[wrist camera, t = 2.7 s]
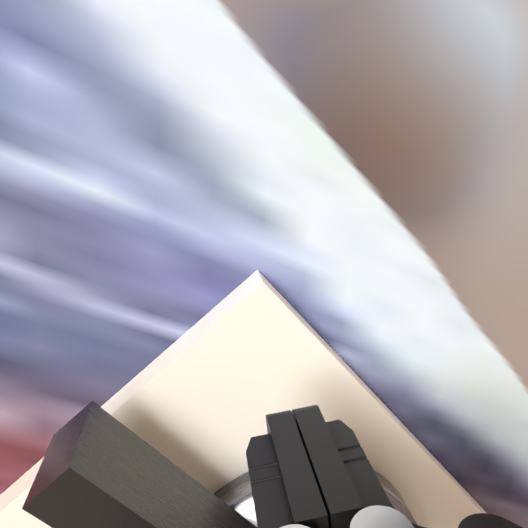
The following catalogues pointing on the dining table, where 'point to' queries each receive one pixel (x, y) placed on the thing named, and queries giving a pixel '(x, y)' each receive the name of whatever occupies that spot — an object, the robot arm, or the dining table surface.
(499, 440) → the dining table surface
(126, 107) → the dining table surface
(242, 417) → the dial base
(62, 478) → the dial
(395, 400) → the dining table surface
